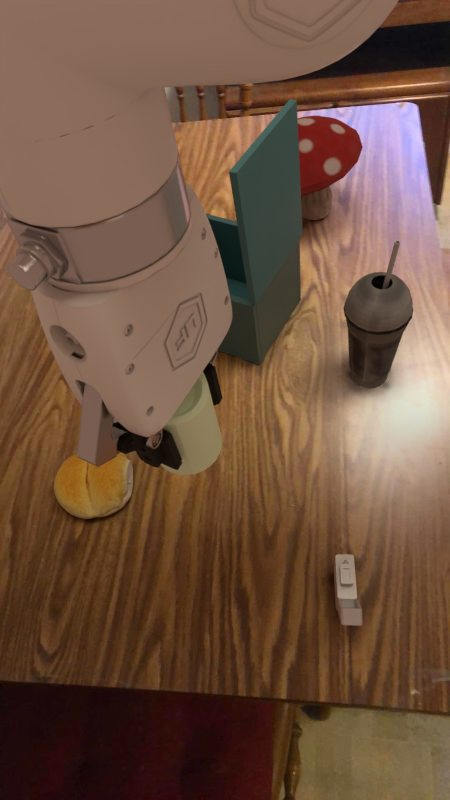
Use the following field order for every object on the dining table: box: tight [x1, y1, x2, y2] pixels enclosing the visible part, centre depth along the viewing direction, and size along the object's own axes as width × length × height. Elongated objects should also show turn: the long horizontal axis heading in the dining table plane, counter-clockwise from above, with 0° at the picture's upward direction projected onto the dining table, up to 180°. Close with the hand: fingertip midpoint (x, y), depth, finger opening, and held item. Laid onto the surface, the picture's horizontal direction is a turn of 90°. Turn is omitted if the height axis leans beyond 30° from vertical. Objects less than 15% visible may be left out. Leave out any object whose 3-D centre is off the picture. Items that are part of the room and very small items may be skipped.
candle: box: [160, 372, 223, 476], centre depth 38 cm, size 5×5×8 cm
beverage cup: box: [343, 240, 414, 389], centre depth 62 cm, size 7×7×20 cm
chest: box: [206, 213, 302, 366], centre depth 74 cm, size 16×13×11 cm
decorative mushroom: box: [297, 115, 363, 221], centre depth 83 cm, size 16×16×15 cm
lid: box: [228, 98, 303, 305], centre depth 60 cm, size 17×13×1 cm
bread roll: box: [53, 453, 134, 520], centre depth 64 cm, size 8×9×4 cm
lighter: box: [333, 553, 363, 626], centre depth 52 cm, size 7×2×8 cm, turn 177°
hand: (181, 425), depth 39 cm, fingers closed on candle, 4 cm apart
